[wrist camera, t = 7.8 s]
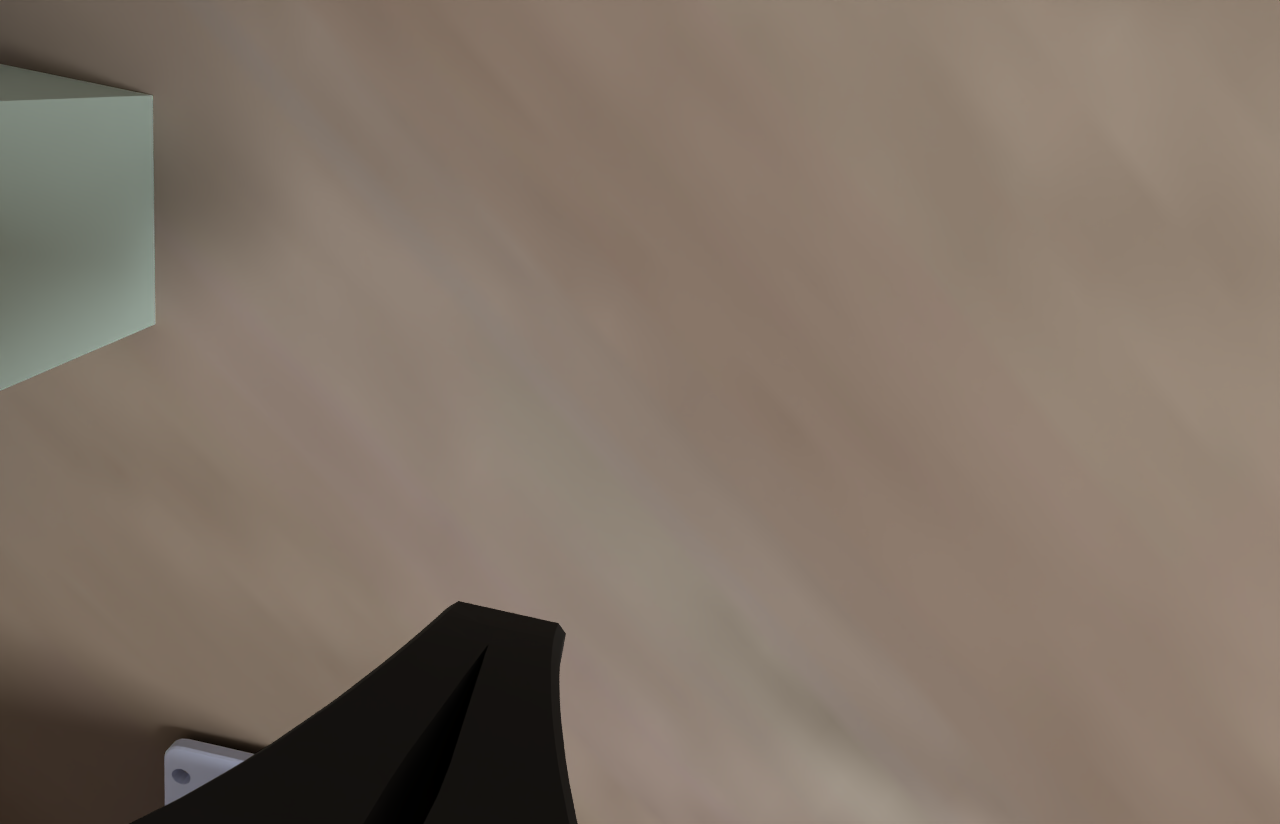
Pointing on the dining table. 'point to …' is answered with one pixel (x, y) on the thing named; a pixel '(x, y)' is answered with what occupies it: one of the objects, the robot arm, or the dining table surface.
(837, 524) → the dining table surface
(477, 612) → the robot arm
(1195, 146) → the dining table surface
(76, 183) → the block
